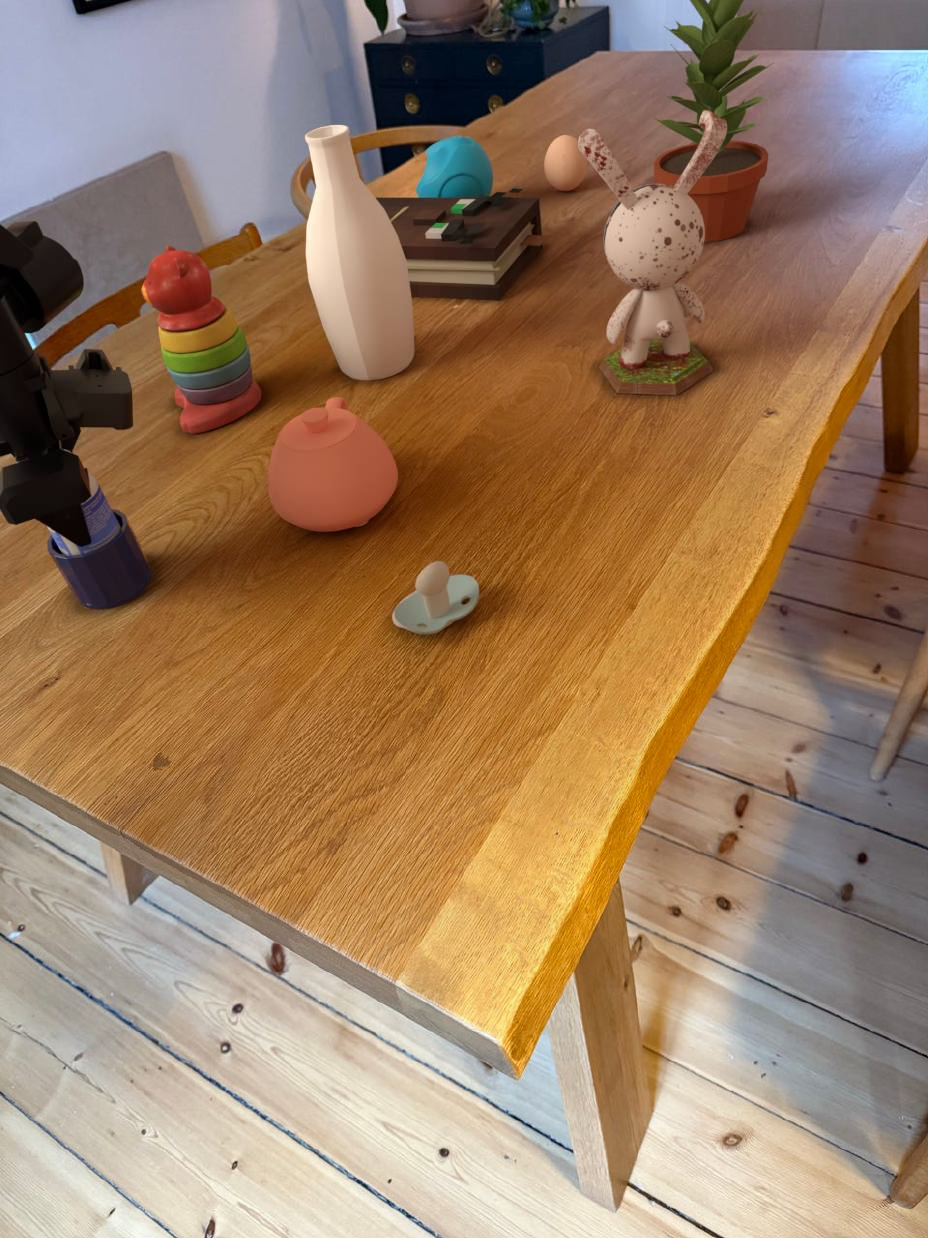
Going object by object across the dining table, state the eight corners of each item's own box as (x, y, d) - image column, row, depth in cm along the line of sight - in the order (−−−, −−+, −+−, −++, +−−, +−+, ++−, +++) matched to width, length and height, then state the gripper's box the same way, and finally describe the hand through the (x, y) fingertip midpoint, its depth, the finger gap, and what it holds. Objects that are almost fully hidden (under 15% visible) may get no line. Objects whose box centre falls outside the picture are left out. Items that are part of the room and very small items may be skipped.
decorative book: (364, 188, 131) (558, 187, 120) (375, 240, 137) (561, 244, 125) (298, 240, 119) (507, 245, 108) (313, 295, 124) (513, 305, 113)
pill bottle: (137, 533, 81) (92, 441, 75) (115, 571, 77) (66, 478, 71) (82, 535, 82) (34, 445, 76) (58, 574, 78) (4, 482, 72)
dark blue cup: (79, 619, 79) (49, 568, 75) (74, 575, 84) (45, 524, 80) (157, 592, 80) (131, 540, 76) (147, 550, 85) (122, 499, 81)
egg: (592, 181, 142) (590, 127, 137) (583, 197, 138) (580, 141, 132) (551, 183, 144) (547, 129, 139) (541, 198, 140) (537, 143, 134)
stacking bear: (174, 396, 108) (115, 249, 96) (256, 373, 109) (208, 225, 97) (183, 438, 100) (120, 283, 88) (271, 413, 102) (221, 257, 90)
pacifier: (378, 619, 74) (418, 655, 70) (361, 561, 70) (402, 595, 66) (449, 578, 76) (491, 610, 73) (436, 519, 72) (480, 549, 68)
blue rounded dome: (438, 205, 144) (426, 126, 136) (506, 203, 140) (498, 121, 132) (412, 234, 136) (398, 152, 128) (484, 233, 132) (473, 149, 124)
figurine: (692, 331, 102) (702, 84, 85) (739, 380, 93) (761, 115, 76) (572, 359, 101) (558, 115, 84) (608, 411, 92) (600, 150, 75)
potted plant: (628, 238, 124) (625, -24, 103) (696, 201, 130) (706, -53, 110) (718, 259, 115) (733, -23, 94) (786, 218, 121) (815, -55, 101)
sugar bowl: (262, 547, 83) (227, 454, 76) (302, 462, 93) (274, 372, 86) (389, 544, 81) (365, 448, 74) (416, 457, 91) (397, 365, 84)
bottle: (313, 371, 108) (250, 143, 90) (382, 333, 113) (334, 109, 95) (373, 396, 101) (317, 155, 84) (442, 354, 106) (403, 119, 89)
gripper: (114, 380, 62) (190, 553, 73) (91, 291, 75) (159, 449, 86) (-51, 429, 60) (53, 601, 70) (-44, 329, 73) (43, 486, 84)
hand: (83, 527), depth 78 cm, fingers closed on pill bottle, 5 cm apart
